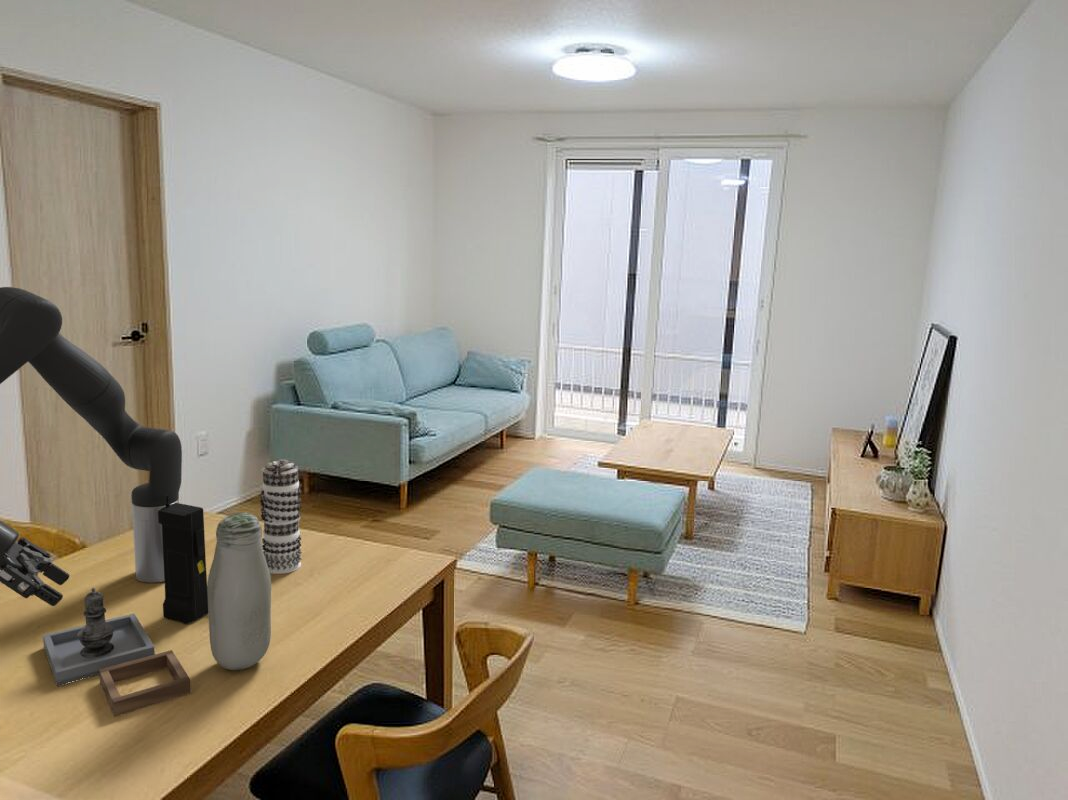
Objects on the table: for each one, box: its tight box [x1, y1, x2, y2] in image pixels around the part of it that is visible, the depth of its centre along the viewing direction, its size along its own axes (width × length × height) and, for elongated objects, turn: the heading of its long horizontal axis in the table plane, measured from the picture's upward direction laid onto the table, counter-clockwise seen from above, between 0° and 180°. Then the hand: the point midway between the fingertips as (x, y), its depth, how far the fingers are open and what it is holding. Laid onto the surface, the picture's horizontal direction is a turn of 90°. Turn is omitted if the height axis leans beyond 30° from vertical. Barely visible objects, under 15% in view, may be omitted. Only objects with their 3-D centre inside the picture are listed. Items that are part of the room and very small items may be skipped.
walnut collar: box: [98, 649, 192, 718], centre depth 128 cm, size 11×11×2 cm
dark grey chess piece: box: [77, 587, 115, 658], centre depth 137 cm, size 6×6×12 cm
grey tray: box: [42, 613, 155, 687], centre depth 138 cm, size 15×15×2 cm
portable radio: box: [158, 495, 208, 625], centre depth 151 cm, size 8×6×25 cm
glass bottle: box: [207, 512, 272, 671], centre depth 134 cm, size 10×10×28 cm
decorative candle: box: [259, 459, 303, 575], centre depth 176 cm, size 9×9×25 cm
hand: (62, 590), depth 134 cm, fingers open, 8 cm apart
